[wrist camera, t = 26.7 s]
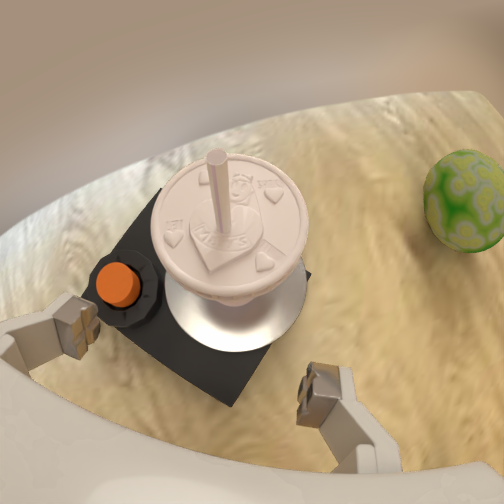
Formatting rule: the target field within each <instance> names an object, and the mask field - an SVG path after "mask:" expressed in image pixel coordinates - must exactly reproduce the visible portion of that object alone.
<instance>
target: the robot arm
mask: <svg viewBox="0 0 504 504" xmlns="http://www.w3.org/2000/svg"><path fill="white" fill-rule="evenodd" d="M97 313H98V307H97V305H96V304H95V303H93V302H90V301H88V300H86V299H83V298H81V297H78V296H75V295H73V294H71V293H68V292H64V293H62V294H61V295H60V296H59V297H58V298H57V299H56V300H54V301H53V302H52V303H51V304H50V305H49V306H48V307H47V308H45V309H44V310H43V311H42V312H40V311H37V312H33V313H30V314H26V315H23V316H19V317H15V318H12V319H8V320H5V321H1V322H0V504H504V477H503V476H501V475H500V474H499V473H498V472H497V471H496V470H495V469H494V468H492V467H491V466H490V465H489V464H487V463H486V462H484V461H474V462H469V463H465V464H460V465H455V466H449V467H442V468H436V469H428V470H420V471H409V472H403V470H402V464H401V458H400V452H399V446H398V443H397V442H396V441H395V440H394V439H393V438H392V437H391V435H390V434H389V433H388V432H387V431H386V430H385V429H384V428H383V426H382V425H381V424H380V423H379V422H378V421H377V420H376V419H375V417H374V416H373V415H372V414H371V413H370V412H369V411H368V410H367V408H366V407H365V406H364V405H363V404H362V403H361V402H358V401H357V398H356V391H355V385H354V378H353V372H352V369H351V367H343V366H335V365H329V364H322V363H316V362H310V363H309V365H308V367H307V375H306V376H304V377H303V378H302V380H301V383H300V386H299V390H298V398H297V401H298V402H299V404H300V405H299V407H298V409H297V420H296V425H300V426H306V427H313V428H319V431H320V433H321V435H322V436H323V438H324V440H325V441H326V443H327V445H328V446H329V448H330V450H331V451H332V453H333V455H334V456H335V458H336V460H337V461H338V463H339V465H338V466H337V467H336V468H335V469H334V470H333V471H332V472H331V473H322V472H309V471H298V470H289V469H281V468H274V467H267V466H261V465H255V464H249V463H244V462H239V461H234V460H230V459H225V458H221V457H216V456H212V455H208V454H204V453H201V452H197V451H193V450H190V449H186V448H183V447H180V446H176V445H173V444H170V443H167V442H164V441H161V440H158V439H155V438H152V437H150V436H147V435H144V434H142V433H139V432H136V431H134V430H131V429H129V428H126V427H124V426H121V425H119V424H117V423H114V422H112V421H110V420H107V419H105V418H103V417H101V416H99V415H96V414H94V413H92V412H90V411H88V410H86V409H84V408H82V407H80V406H78V405H76V404H74V403H72V402H70V401H68V400H67V399H65V398H63V397H61V396H59V395H57V394H56V393H54V392H52V391H50V390H49V389H47V388H45V387H44V386H42V385H40V384H39V383H37V382H35V381H34V380H32V378H31V376H30V374H29V372H28V371H30V370H32V369H34V368H36V367H38V366H40V365H42V364H44V363H46V362H48V361H50V360H52V359H54V358H56V357H58V356H61V355H63V353H64V354H66V355H68V356H71V357H73V358H75V359H77V360H81V358H82V357H83V356H84V355H85V353H86V352H87V351H88V345H89V344H92V343H94V342H95V341H96V339H97V338H98V335H99V333H100V321H99V319H98V318H97V316H96V315H97Z"/></svg>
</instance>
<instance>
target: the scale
mask: <svg viewBox="0 0 504 504" xmlns="http://www.w3.org/2000/svg"><path fill="white" fill-rule="evenodd" d="M161 190H162V188H160V190H159V191H158V192H157V193H156V194H155V196H154V197H153V198H152V199H151V200H150V202H149V203H148V204H147V205H146V207H145V208H144V209H143V211H142V212H141V213H140V214H139V216H138V217H137V218H136V219H135V221H134V222H133V223H132V225H131V226H130V227H129V229H128V230H127V231H126V233H125V234H124V235H123V237H122V238H121V239H120V241H119V242H118V243H117V245H116V246H115V248H114V249H113V250H112V252H111V253H110V254H109V255H107V256H105V257H103V258H101V259H100V261H99V262H98V264H97V265H96V267H95V268H94V270H93V271H92V272H91V274H90V277H89V284H88V287H87V288H86V290H85V291H84V293H83V294H82V296H81V298H83V299H86V300H88V301H90V302H93V303H95V304H96V305H97V307H98V313H97V316H98V317H99V318H100V319H101V320H102V321H104V322H105V323H106V324H108V325H110V326H113V327H115V328H116V329H117V330H119V331H120V332H121V333H122V334H124V335H125V336H126V337H127V338H129V339H130V340H131V341H133V342H134V343H135V344H136V345H138V346H139V347H140V348H142V349H143V350H144V351H146V352H147V353H148V354H150V355H151V356H153V357H154V358H155V359H157V360H158V361H159V362H161V363H162V364H164V365H165V366H167V367H168V368H169V369H171V370H172V371H174V372H175V373H177V374H178V375H180V376H181V377H183V378H184V379H186V380H187V381H189V382H190V383H192V384H193V385H195V386H196V387H198V388H200V389H201V390H203V391H204V392H206V393H208V394H209V395H211V396H212V397H214V398H216V399H217V400H219V401H221V402H222V403H224V404H226V405H227V406H229V407H232V405H233V404H234V402H235V401H236V399H237V398H238V396H239V395H240V393H241V392H242V390H243V389H244V387H245V385H246V384H247V382H248V381H249V379H250V378H251V376H252V374H253V373H254V371H255V370H256V368H257V366H258V365H259V363H260V362H261V360H262V358H263V357H264V355H265V353H266V352H267V350H268V349H269V347H270V345H271V344H272V343H271V344H268V345H266V346H264V347H262V348H259V349H256V350H253V351H247V352H224V351H219V350H215V349H212V348H210V347H207V346H205V345H203V344H201V343H199V342H197V341H196V340H194V339H193V338H192V337H190V336H189V335H188V334H187V333H186V332H185V331H184V330H183V329H182V328H181V327H180V326H179V324H178V323H177V322H176V320H175V319H174V317H173V315H172V313H171V311H170V309H169V306H168V303H167V299H166V295H165V273H166V269H165V268H164V266H163V265H162V263H161V261H160V259H159V257H158V255H157V253H156V251H155V248H154V245H153V242H152V237H151V216H152V211H153V208H154V204H155V202H156V199H157V197H158V195H159V194H160V192H161ZM114 262H119V263H122V264H124V265H126V266H127V267H128V268H129V269H131V270H132V271H133V272H134V273H135V274H136V275H137V277H138V278H139V281H140V293H139V296H138V298H137V299H136V301H135V302H134V303H132V304H131V305H129V306H127V307H116V306H114V305H112V304H110V303H108V302H106V301H104V300H103V299H102V298H101V297H100V296H99V294H98V292H97V288H96V281H97V277H98V274H99V273H100V271H101V270H102V269H103V268H104V267H105V266H106V265H108V264H110V263H114ZM310 276H311V273H310V272H308V271H306V277H307V281H308V280H309V278H310Z"/></svg>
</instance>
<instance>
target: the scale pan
mask: <svg viewBox="0 0 504 504" xmlns="http://www.w3.org/2000/svg"><path fill="white" fill-rule="evenodd" d="M306 291H307V277H306V270H305V266H304V262H303V260H302V257H300V260H299V263H298V264H297V266H296V267H295V268H294V270H293V271H292V272H291V274H290V275H289V276H288V277H287V279H286V280H284V281H283V282H282V283H281V284H279V285H278V286H277V287H275V288H274V289H273V290H271V291H270V292H268V293H265V294H263V295H260V296H258V297H255V298H254V299H253V300H251V301H250V302H249V303H247V304H245V305H242V306H237V307H232V306H226V305H224V304H221V303H220V302H218V301H215V300H209V299H205V298H202V297H200V296H198V295H196V294H193V293H191V292H189V291H187V290H185V289H184V288H183V287H182V286H181V285H179V284H178V283H177V282H176V281H175V280H174V279H172V278H171V277H170V275H169V274H168V272H167V271H166V273H165V295H166V299H167V303H168V306H169V309H170V311H171V313H172V315H173V317H174V319H175V320H176V322H177V323H178V324H179V326H180V327H181V328H182V329H183V330H184V331H185V332H186V333H187V334H188V335H189V336H190V337H192V338H193V339H194V340H196V341H197V342H199V343H201V344H203V345H205V346H207V347H210V348H212V349H215V350H219V351H224V352H247V351H253V350H256V349H259V348H262V347H264V346H266V345H268V344H271V343H272V342H274V341H275V340H277V339H278V338H280V337H281V336H282V335H283V334H284V333H286V332H287V331H288V329H289V328H290V327H291V326H292V325H293V324H294V322H295V320H296V319H297V317H298V316H299V314H300V312H301V309H302V307H303V304H304V301H305V296H306Z"/></svg>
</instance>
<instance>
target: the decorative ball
mask: <svg viewBox="0 0 504 504" xmlns="http://www.w3.org/2000/svg"><path fill="white" fill-rule="evenodd" d="M423 191H424V211H425V217H426V219H427V221H428V223H429V225H430V227H431V230H432V232H433V233H434V235H435V236H436V237H437V238H438V239H439V240H440V242H442V243H443V244H444V245H446V246H448V247H450V248H451V249H453V250H455V251H459V252H465V253H477V252H481V251H485V250H487V249H489V248H491V247H493V246H494V245H495V244H497V243H498V242H499V241H500V240H501V239H502V237H503V236H504V171H503V169H502V168H501V166H500V165H499V164H498V163H496V161H495V160H493V159H492V158H491V157H488V156H487V155H484V154H483V153H481V152H479V151H475V150H469V149H463V150H459V151H456V152H453V153H451V154H449V155H447V156H445V157H444V158H442V159H441V160H440V161H439V162H438V163H436V164H435V165H434V166H433V167H432V168H431V169H430V171H429V173H428V175H427V177H426V180H425V183H424V189H423Z"/></svg>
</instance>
